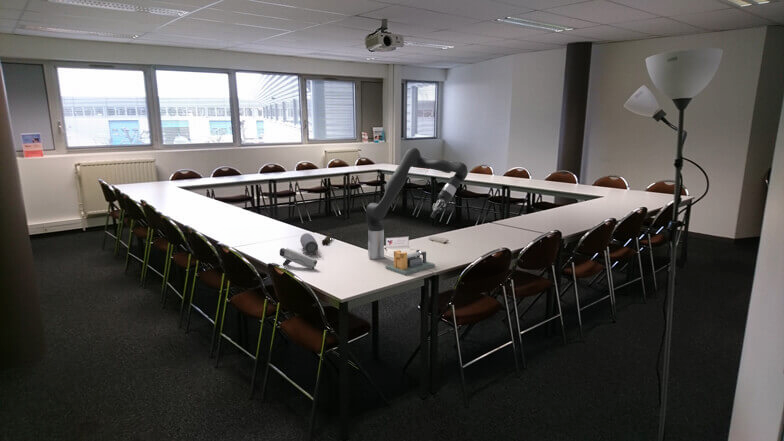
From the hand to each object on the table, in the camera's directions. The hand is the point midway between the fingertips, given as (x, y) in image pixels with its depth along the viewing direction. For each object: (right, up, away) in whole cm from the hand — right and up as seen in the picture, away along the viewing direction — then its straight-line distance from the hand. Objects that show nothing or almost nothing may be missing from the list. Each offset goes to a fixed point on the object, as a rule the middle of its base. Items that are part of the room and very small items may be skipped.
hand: (432, 217), depth 269 cm
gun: (-77, -29, -5) cm, 82 cm away
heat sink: (-13, -27, -8) cm, 31 cm away
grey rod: (-7, -20, -5) cm, 22 cm away
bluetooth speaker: (-76, -22, +27) cm, 84 cm away
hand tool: (-68, -17, +51) cm, 87 cm away
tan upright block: (-19, -28, -14) cm, 36 cm away
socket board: (-13, -28, -8) cm, 32 cm away
